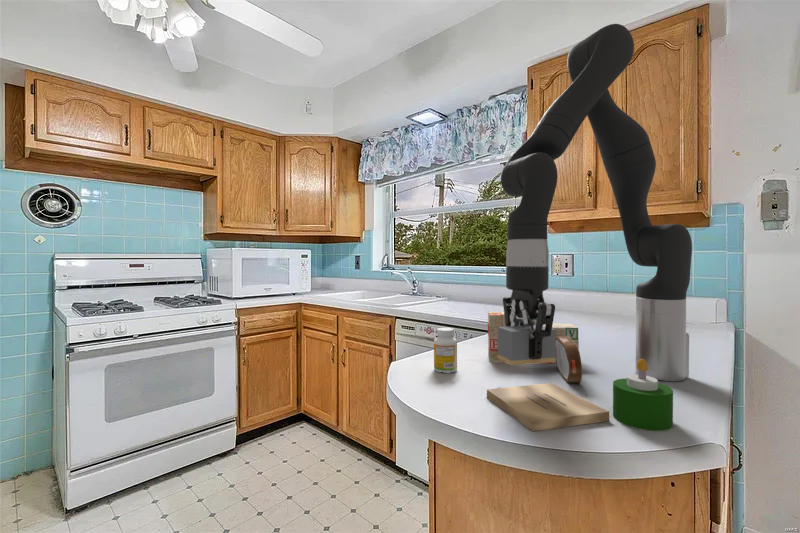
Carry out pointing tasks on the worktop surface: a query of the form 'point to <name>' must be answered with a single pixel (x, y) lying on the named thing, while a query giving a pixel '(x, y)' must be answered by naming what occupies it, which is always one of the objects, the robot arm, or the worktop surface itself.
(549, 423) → the board
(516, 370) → the worktop surface
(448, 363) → the supplement bottle
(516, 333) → the block
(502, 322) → the stack of blocks
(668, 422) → the candle
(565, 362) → the tin
